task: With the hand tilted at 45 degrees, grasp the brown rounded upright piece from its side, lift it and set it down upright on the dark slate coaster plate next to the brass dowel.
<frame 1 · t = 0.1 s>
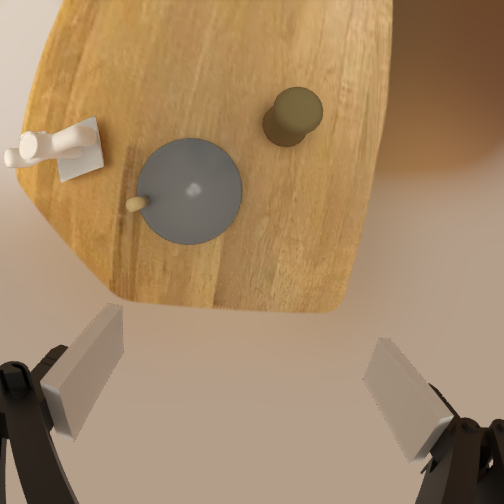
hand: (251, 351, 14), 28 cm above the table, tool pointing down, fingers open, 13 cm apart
figurine: (89, 151, 38), on the table
coaster plate: (189, 191, 40), on the table
brown rounded upright piece: (285, 125, 38), on the table
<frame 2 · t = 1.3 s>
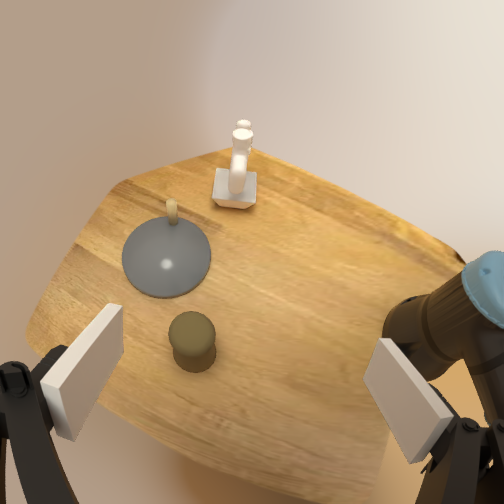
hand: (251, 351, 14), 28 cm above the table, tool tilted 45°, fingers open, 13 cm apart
figurine: (233, 199, 55), on the table
coaster plate: (166, 256, 47), on the table
brown rounded upright piece: (194, 351, 40), on the table
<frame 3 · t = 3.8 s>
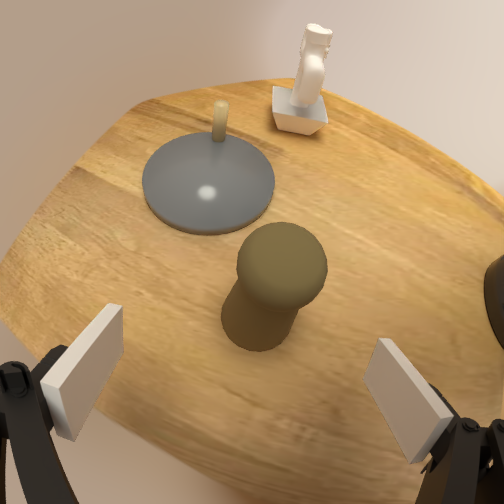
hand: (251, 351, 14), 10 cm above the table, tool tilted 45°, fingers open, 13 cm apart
figurine: (292, 124, 40), on the table
coaster plate: (208, 180, 32), on the table
brown rounded upright piece: (256, 317, 26), on the table
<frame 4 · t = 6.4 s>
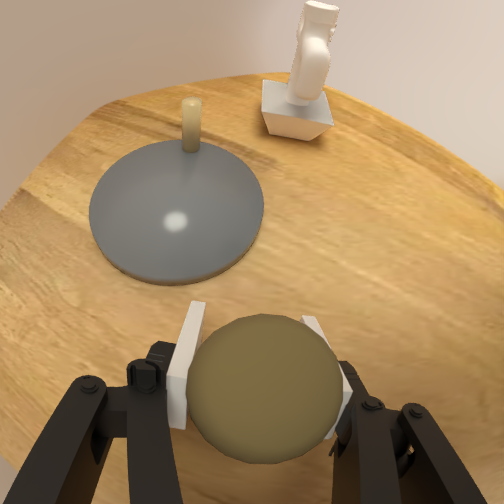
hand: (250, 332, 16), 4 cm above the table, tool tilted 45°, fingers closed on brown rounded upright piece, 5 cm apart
figurine: (288, 127, 32), on the table
coaster plate: (175, 205, 24), on the table
brown rounded upright piece: (237, 402, 17), on the table, touching gripper
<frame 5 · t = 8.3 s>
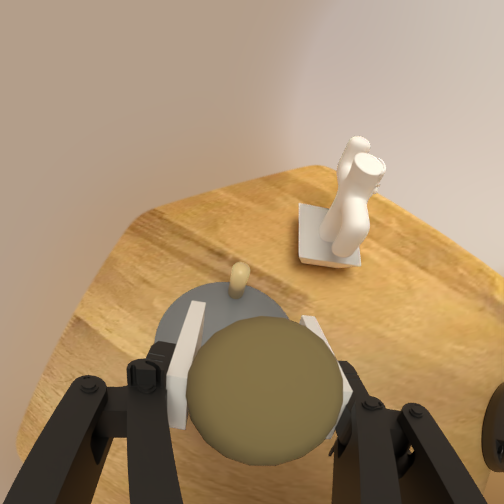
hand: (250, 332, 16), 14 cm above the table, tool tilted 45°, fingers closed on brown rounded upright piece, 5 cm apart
figurine: (318, 250, 37), on the table
coaster plate: (226, 350, 29), on the table
brown rounded upright piece: (237, 403, 17), point 11 cm above the table, touching gripper
when the fingers open (6 cm above the table, at t = 10.4 s): brown rounded upright piece drops 1 cm, resting on coaster plate.
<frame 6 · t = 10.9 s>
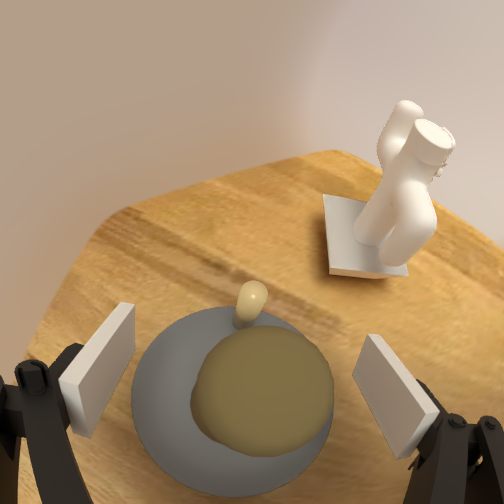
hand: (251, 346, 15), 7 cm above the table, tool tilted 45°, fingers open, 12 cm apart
figurine: (348, 256, 28), on the table
coaster plate: (233, 403, 20), on the table
brown rounded upright piece: (235, 404, 19), point 1 cm above the table, touching coaster plate
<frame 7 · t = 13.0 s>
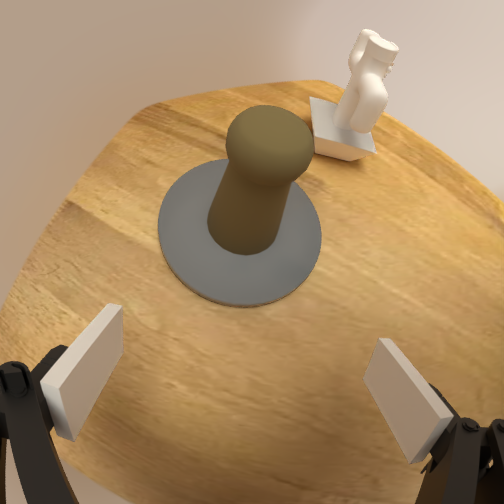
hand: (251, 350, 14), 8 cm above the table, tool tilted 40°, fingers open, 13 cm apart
figurine: (330, 145, 34), on the table
coaster plate: (240, 228, 27), on the table
brown rounded upright piece: (242, 223, 26), point 1 cm above the table, touching coaster plate
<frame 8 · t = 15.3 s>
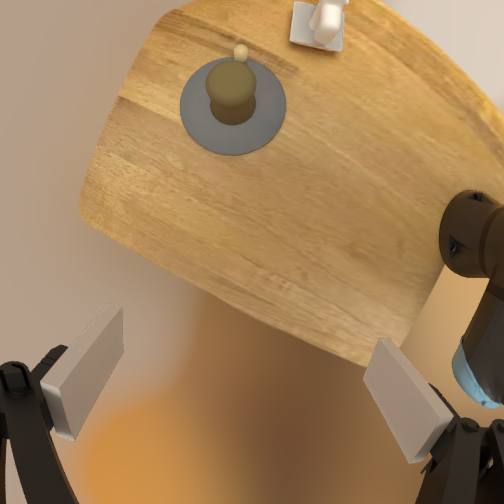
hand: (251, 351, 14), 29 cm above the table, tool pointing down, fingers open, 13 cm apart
figurine: (312, 35, 35), on the table
coaster plate: (232, 105, 38), on the table
brown rounded upright piece: (233, 104, 37), point 1 cm above the table, touching coaster plate
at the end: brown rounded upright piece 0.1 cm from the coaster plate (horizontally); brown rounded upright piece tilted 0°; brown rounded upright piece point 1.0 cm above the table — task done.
